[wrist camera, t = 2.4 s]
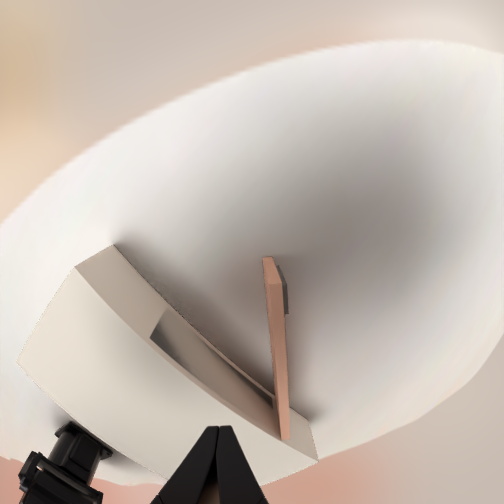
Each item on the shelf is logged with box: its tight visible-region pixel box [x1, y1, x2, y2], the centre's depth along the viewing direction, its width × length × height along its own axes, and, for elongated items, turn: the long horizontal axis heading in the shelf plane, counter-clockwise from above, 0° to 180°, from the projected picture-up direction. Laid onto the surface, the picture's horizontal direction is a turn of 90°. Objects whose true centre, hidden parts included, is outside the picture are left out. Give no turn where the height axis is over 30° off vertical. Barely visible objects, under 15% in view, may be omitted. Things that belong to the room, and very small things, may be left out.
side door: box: [262, 257, 290, 440], centre depth 16 cm, size 1×12×4 cm, turn 6°
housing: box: [16, 245, 319, 486], centre depth 18 cm, size 12×22×5 cm, turn 41°
